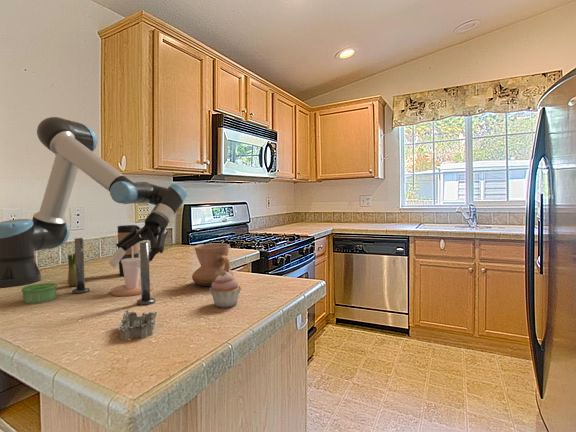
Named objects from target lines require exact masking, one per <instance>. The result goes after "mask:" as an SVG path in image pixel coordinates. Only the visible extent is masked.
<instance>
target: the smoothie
mask: <svg viewBox="0 0 576 432" xmlns="http://www.w3.org/2000/svg"><path fill="white" fill-rule="evenodd" d="M121 263H122V265H123V272H124V276H123V277H124V283H125V284H124V285H126V289H135V288H138V283H139V281H140V275H141V269H140V268H139V267H138V264H139V263H140V257H139V258H134V252H133V246H132V258H126V259H122V260H121Z"/></svg>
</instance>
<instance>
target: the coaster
mask: <svg viewBox="0 0 576 432" xmlns="http://www.w3.org/2000/svg"><path fill="white" fill-rule="evenodd" d="M153 290H154V285H153V284H152V283H150V292H152V291H153ZM110 295H112V296H116V297H132V296H139V295H140V296H141V282H140V283H138V288H135V289H126V284H121V285H117V286H115V287H112V288H111V289H110Z"/></svg>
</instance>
